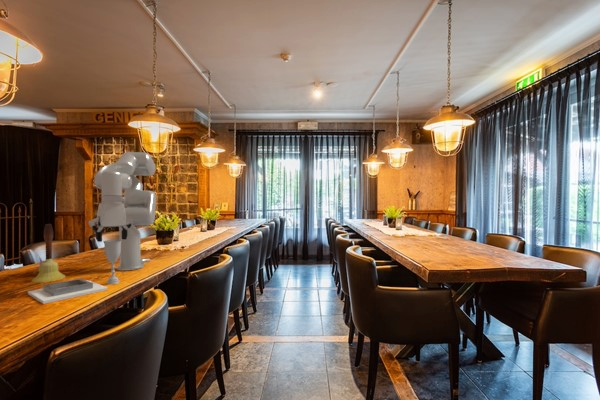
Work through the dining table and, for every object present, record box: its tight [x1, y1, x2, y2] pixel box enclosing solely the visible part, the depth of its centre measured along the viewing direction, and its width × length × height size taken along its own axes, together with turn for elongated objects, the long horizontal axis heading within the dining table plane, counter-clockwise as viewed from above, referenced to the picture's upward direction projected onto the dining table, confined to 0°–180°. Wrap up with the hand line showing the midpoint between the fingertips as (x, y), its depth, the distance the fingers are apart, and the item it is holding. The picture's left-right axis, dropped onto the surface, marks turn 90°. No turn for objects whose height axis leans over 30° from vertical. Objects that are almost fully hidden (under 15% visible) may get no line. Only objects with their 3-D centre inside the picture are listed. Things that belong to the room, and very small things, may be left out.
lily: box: [32, 254, 45, 275], centre depth 153 cm, size 12×12×10 cm
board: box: [27, 279, 109, 305], centre depth 120 cm, size 20×20×1 cm
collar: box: [42, 278, 93, 296], centre depth 120 cm, size 12×12×2 cm
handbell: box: [30, 223, 67, 284], centre depth 141 cm, size 12×12×25 cm
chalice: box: [102, 239, 122, 285], centre depth 133 cm, size 7×7×18 cm
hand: (112, 240), depth 133 cm, fingers open, 9 cm apart
